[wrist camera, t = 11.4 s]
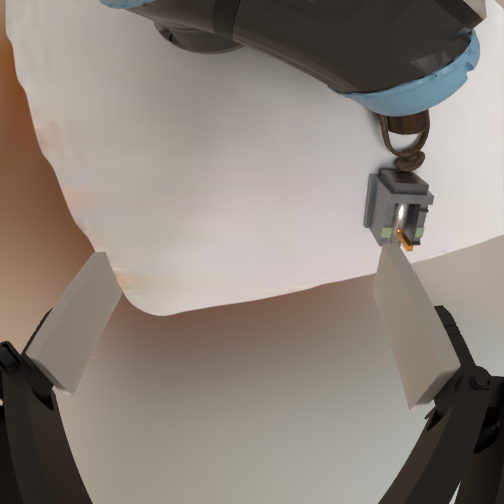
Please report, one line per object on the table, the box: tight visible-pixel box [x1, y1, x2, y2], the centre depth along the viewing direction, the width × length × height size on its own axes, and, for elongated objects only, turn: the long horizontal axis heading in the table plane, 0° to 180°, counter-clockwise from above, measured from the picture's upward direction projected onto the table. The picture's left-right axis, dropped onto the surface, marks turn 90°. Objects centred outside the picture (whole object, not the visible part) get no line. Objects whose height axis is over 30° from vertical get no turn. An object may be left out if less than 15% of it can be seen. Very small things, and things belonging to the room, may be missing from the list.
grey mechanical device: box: [381, 170, 429, 251], centre depth 34 cm, size 10×5×8 cm, turn 4°
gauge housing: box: [364, 174, 434, 246], centre depth 35 cm, size 8×8×7 cm
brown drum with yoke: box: [378, 109, 430, 172], centre depth 29 cm, size 7×13×10 cm
